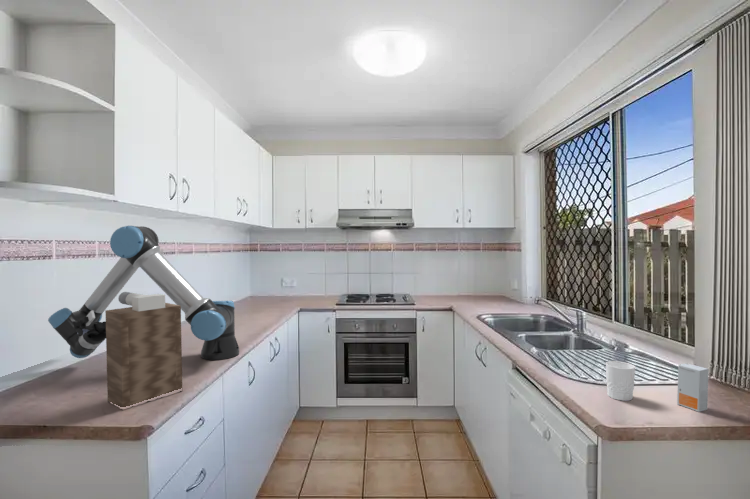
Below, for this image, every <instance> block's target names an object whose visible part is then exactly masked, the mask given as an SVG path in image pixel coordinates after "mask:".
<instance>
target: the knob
mask: <svg viewBox="0 0 750 499" xmlns="http://www.w3.org/2000/svg"><path fill="white" fill-rule="evenodd" d="M118 302H119V303H120V304H122V305H127V306H130V307H132V310H134V311H145V310H152V309H160V308H165V303H166V294H163V293H162V294H161V293H155V294H143V293H142V294H141V293H137V292H136V293H134V292H129V291H123V292H121V293H120V294H119V295H118Z"/></svg>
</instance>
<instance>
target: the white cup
mask: <svg viewBox="0 0 750 499" xmlns="http://www.w3.org/2000/svg"><path fill="white" fill-rule="evenodd" d="M605 372H606V373H605V379H606V386H607V387H606V393H607V397H609V398H611V399H614V400H616V401H621V402H622V401H623V402H625V401H627V402H629V401H631V400H633V398H634V395H633V394H634V388H635V387H634V386H635V377H636V376H635V375H636V366H635V365H634V364H632V363H630V362H629V363H628V362H625V361H620V360H618V361H617V360H615V361H614V360H613V361H612V360H610V361H606V362H605Z"/></svg>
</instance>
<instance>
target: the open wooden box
mask: <svg viewBox="0 0 750 499" xmlns="http://www.w3.org/2000/svg"><path fill="white" fill-rule="evenodd" d="M104 312H105V322H106V339H105V343H106V344H105V345H106V346H105V347H106V348H105V349H106V352H105V353H106V380H107V381H106V383H107V384H106V385H107V402H108V401H109V402H112V403H113V404H116V405H118V406H120V407H126V406H130V405H133V404H136V403H139V402H142V401H144V400H148V399H151V398H154V397H157V396H160V395H162V394H166V393H169V392H172V391H174V390H178V389H181V388H182V389H183V360H182V359H183V356H182V354H183V353H182V351H183V349H182V347H183V346H182V345H183V344H182V310H181V305H177V304H176V303H175V304H174V303H169V302H165V308H160V309H152V310H145V311H134V310H132V306H129V307H123V308H115V309H105V311H104Z"/></svg>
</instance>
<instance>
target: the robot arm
mask: <svg viewBox="0 0 750 499" xmlns="http://www.w3.org/2000/svg"><path fill="white" fill-rule="evenodd" d="M159 242H160V241H159V237H158V235H157V233H156V232H155V230H153V229H152V228H150V227H147V226H138V225H137V226H135V225H125V226H121V227H119V228H117V229H115V230H114V231H113V233H112V234H111V236H110V242H109V245H110V248H111V251H112V252H113V253H114V255H116V256H117V257H119V259H118V260H117V262H116V263H115V265H114V266H113V267H112V268H111V270H110V271H109V272H108V273H107V275H106V276H105V277H104V278H103V280H101V281H100V283H99V284H98V286H97V287H96V288H95V289H94V291H93V292H92V294H91V295H90V296H89V297H88V298H87V300H85V302H84V304H83V305H82V306H81V307H80V308H79V309H78V310H77V311H72V310H71V309H70V308H68V307H63V308H61V309H58V310H57V311H55V312H54V313H53V314H51V315H50V316H48V317H49V318H48V320H47V321H48V323H49V324H50V326H51V327H52V328H53V329H54V331H56V332H57V333H58V334H59V335H60V337H62V338H63V340H64V341H65V342H66V343H67V344H68V345H69V352H70V353H69V354H70V355H71V356H73V358H77V359H84V358H87V357H89V356H90V355H91V354H93V352H95V350H97V348H98V347H99V346H100V345H101V344H102V343H103V342H104V341H106V320H105V321H101V320H102V317H103V313H104V312H105V310H107V308H108V307H109V305H110V304H111V303H112V302H113V300H115V298H116V297H117V296H118V294H119V293H120V292H121V291H122V290H123V288H124V287H125V285H126V284H127V283H128V281H130V279H131V278H132V277H133V275H134V274H135V273H136V271H137V270H138V269H139V268H140V269H142V271H143V272H145V273H146V276H148V277H149V278H150V279H151V280H152V281H153V282H154V283H155V284H156V285H157V286H158V287H159V288H160V289H161V290H162V291H163V292H164V293H165V295H167V297H168V298H169V299H171V301H172V302H174V303H175V305H181V312H183V313H184V320H185V321H186V322H187V323H188V324H189V326H190V330H191V333H192V334H193V336H195V337H196V338H197V339H198V340H202V341H203V344H202V349H201V351H200V356H201V358H202V359H204V360H210V361H211V360H214V361H216V360H218V361H219V360H225V359H227V360H228V359H231V358H234V357H236V356H239V354H240V346H239V344H238V343H239V342H238V341H237V338H236V335H235V333H236V332H235V329H236V328H235V322H236V321H235V309H236V307H235V302H234V301H232V300H212V299H211V298H206V297H203V296H202V295H201V294H200V293H199V292H198V291H197V289H195V287H194V286H192V284H191V283H189V281H188V280H187V279H186V278H185V277H184V276H183V274H181V273H180V272H179V271H178V270H177V269H176V268H175V267H174V266H173V265H172V264H171V263H170V262H169V260H167V259H166V257H164V255H163V254H162V253H161V246H160V245H159Z"/></svg>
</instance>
